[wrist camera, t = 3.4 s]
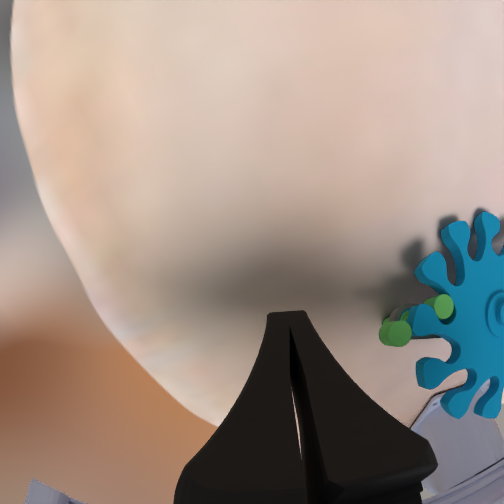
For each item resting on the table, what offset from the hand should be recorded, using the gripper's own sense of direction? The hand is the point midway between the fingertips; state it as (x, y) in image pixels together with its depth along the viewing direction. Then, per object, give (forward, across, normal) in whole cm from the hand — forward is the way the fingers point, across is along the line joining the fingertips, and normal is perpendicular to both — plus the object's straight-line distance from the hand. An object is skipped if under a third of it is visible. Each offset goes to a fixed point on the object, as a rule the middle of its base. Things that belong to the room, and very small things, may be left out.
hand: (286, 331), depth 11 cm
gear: (+3, -10, 0) cm, 10 cm away
